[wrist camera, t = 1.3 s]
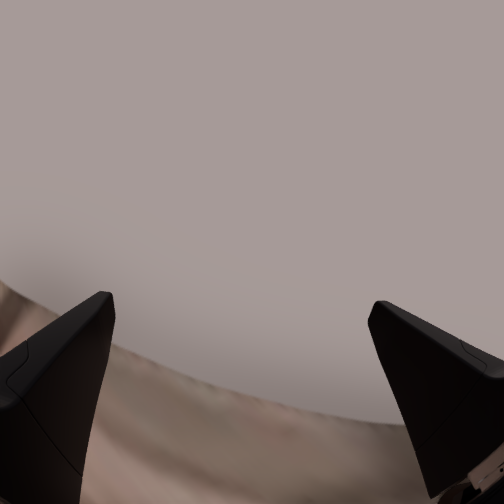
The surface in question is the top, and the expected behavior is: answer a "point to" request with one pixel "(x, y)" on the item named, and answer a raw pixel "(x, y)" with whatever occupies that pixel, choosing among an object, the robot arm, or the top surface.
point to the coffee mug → (453, 493)
